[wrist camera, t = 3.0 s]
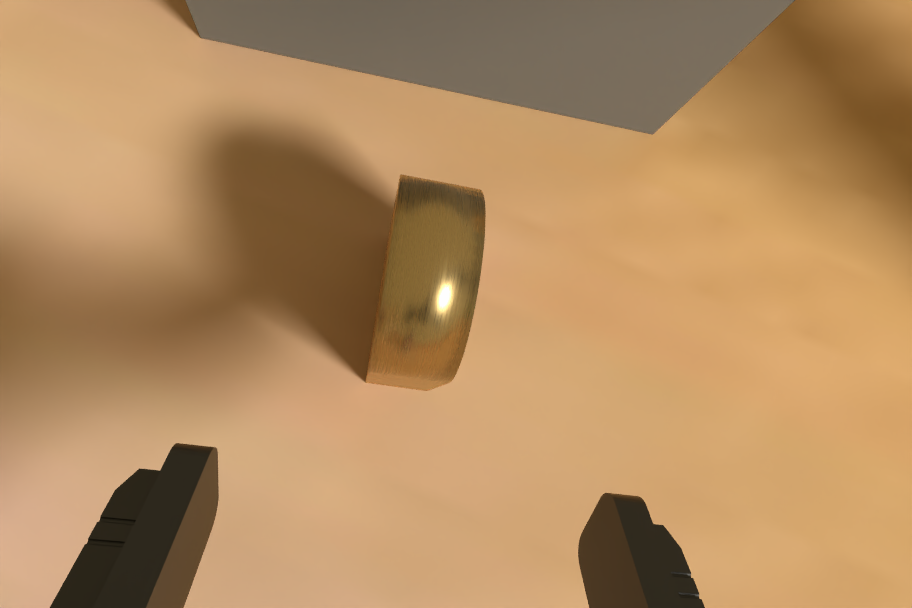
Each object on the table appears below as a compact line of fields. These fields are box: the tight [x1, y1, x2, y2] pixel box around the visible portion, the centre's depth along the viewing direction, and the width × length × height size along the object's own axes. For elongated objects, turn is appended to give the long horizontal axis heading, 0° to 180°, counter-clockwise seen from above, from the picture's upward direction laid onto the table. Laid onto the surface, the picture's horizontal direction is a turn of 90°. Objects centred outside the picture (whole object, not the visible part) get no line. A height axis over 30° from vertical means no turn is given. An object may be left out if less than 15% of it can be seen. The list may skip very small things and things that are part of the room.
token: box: [365, 175, 485, 391], centre depth 19 cm, size 2×6×8 cm, turn 173°
